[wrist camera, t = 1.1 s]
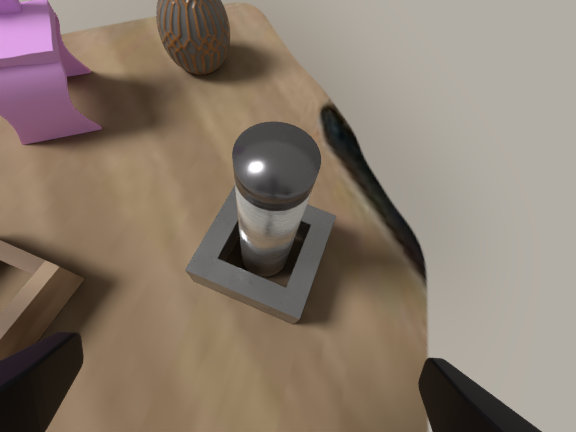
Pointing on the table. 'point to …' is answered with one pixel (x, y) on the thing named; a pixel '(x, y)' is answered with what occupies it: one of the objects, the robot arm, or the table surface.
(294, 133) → the silver and grey cylinder
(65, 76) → the toy chair
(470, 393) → the robot arm
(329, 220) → the socket block
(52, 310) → the block
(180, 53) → the vase
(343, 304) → the table surface
